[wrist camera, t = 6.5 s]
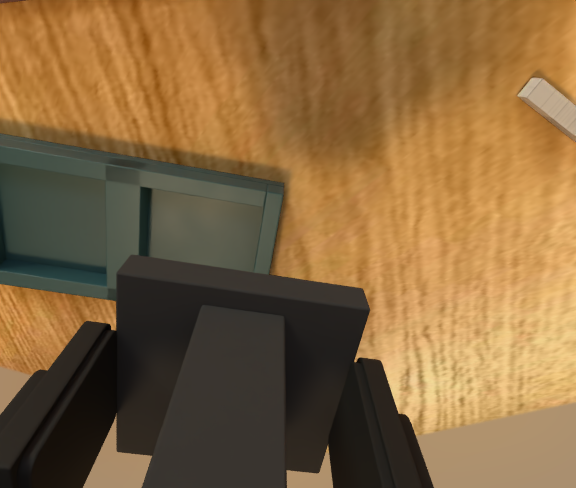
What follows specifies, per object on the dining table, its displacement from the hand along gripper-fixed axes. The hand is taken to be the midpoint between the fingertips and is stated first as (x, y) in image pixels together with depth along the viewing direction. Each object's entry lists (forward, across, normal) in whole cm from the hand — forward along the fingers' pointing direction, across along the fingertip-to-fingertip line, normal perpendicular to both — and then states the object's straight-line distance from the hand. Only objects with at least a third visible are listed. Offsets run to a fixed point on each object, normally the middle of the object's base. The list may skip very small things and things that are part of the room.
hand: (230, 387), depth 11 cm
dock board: (+16, +8, +3) cm, 18 cm away
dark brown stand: (+1, 0, 0) cm, 1 cm away
